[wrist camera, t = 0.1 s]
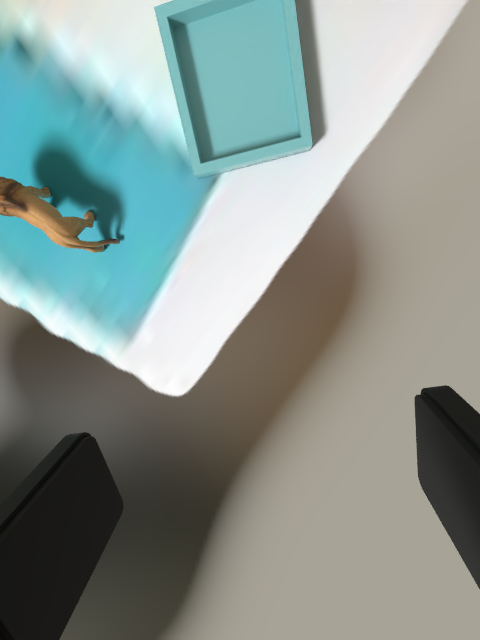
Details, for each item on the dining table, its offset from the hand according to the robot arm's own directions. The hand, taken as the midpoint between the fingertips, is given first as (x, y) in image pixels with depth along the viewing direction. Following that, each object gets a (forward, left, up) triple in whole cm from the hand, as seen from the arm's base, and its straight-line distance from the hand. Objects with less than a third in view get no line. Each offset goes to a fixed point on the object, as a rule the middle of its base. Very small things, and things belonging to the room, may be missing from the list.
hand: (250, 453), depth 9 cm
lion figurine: (-12, -24, -31) cm, 41 cm away
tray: (-20, +1, -31) cm, 37 cm away
